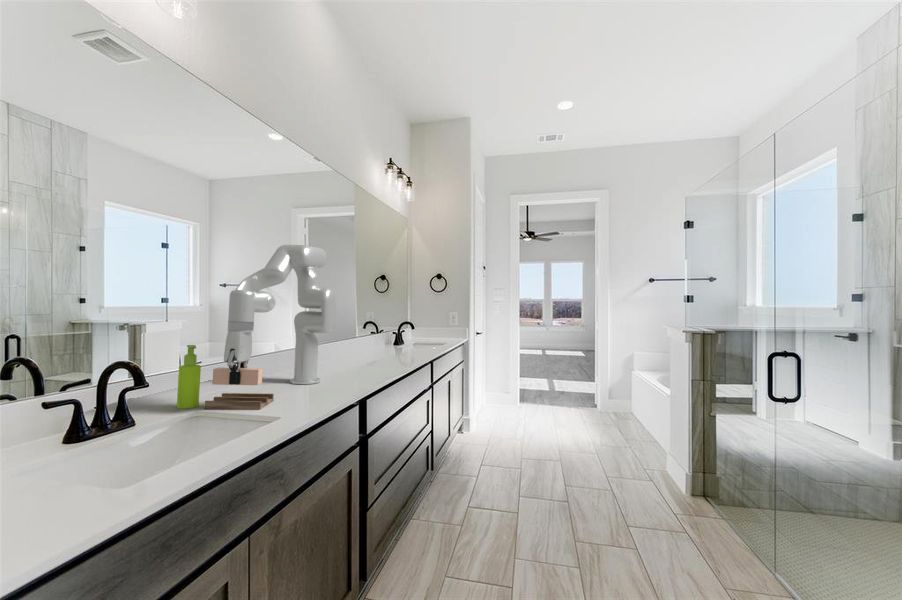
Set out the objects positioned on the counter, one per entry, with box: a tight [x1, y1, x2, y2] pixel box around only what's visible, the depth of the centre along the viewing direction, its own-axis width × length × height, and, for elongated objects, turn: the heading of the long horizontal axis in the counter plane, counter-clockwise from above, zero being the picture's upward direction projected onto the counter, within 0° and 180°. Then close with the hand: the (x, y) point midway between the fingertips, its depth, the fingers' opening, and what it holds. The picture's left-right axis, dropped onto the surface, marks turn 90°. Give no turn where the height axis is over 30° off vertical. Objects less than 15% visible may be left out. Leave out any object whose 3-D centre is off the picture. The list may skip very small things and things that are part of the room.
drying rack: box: [203, 392, 275, 411], centre depth 128 cm, size 12×17×2 cm
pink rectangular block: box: [211, 367, 264, 386], centre depth 126 cm, size 4×14×5 cm, turn 96°
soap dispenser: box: [176, 344, 202, 410], centre depth 124 cm, size 6×7×20 cm
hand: (237, 382), depth 126 cm, fingers closed on pink rectangular block, 3 cm apart
